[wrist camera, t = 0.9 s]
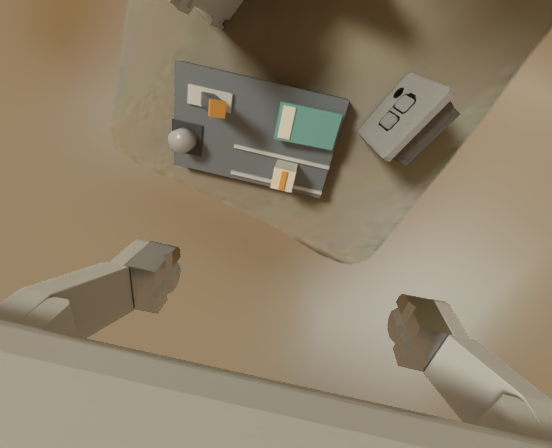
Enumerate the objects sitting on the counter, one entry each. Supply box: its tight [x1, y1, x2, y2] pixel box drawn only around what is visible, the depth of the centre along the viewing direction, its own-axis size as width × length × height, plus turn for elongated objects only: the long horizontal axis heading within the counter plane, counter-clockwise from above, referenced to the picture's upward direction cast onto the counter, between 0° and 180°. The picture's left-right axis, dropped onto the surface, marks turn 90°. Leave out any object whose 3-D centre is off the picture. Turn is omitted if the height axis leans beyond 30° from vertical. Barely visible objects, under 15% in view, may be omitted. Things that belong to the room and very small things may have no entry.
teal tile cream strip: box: [274, 101, 342, 150], centre depth 36 cm, size 8×5×1 cm, turn 79°
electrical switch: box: [358, 73, 460, 167], centre depth 34 cm, size 9×5×9 cm, turn 144°
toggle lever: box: [201, 92, 227, 119], centre depth 34 cm, size 2×2×6 cm
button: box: [168, 127, 197, 154], centre depth 39 cm, size 3×3×2 cm
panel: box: [172, 61, 349, 198], centre depth 40 cm, size 14×23×3 cm, turn 79°
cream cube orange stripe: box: [270, 159, 298, 193], centre depth 39 cm, size 3×3×4 cm
